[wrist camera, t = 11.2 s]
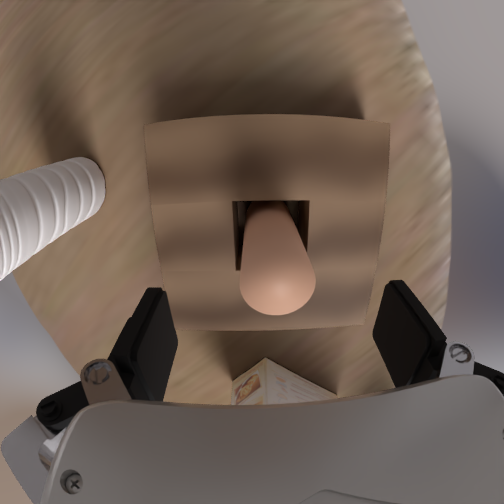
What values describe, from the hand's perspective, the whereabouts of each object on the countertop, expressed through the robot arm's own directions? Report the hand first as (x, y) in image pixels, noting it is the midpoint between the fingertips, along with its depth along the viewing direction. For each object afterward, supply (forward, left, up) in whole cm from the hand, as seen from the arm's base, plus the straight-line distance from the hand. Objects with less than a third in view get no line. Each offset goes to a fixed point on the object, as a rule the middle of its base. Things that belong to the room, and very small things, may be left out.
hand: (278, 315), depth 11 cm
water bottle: (-3, -20, -16) cm, 25 cm away
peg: (+1, 0, -15) cm, 15 cm away
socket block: (+1, 0, -15) cm, 15 cm away
